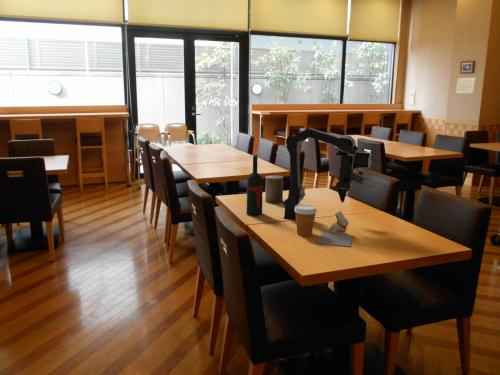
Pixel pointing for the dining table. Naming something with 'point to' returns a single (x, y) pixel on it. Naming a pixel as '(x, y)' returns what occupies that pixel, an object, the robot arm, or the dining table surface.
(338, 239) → the mat
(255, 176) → the wine bottle
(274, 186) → the pillar candle
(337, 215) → the chocolate bunny
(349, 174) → the robot arm
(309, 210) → the disposable coffee cup
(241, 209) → the dining table surface
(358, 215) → the dining table surface
